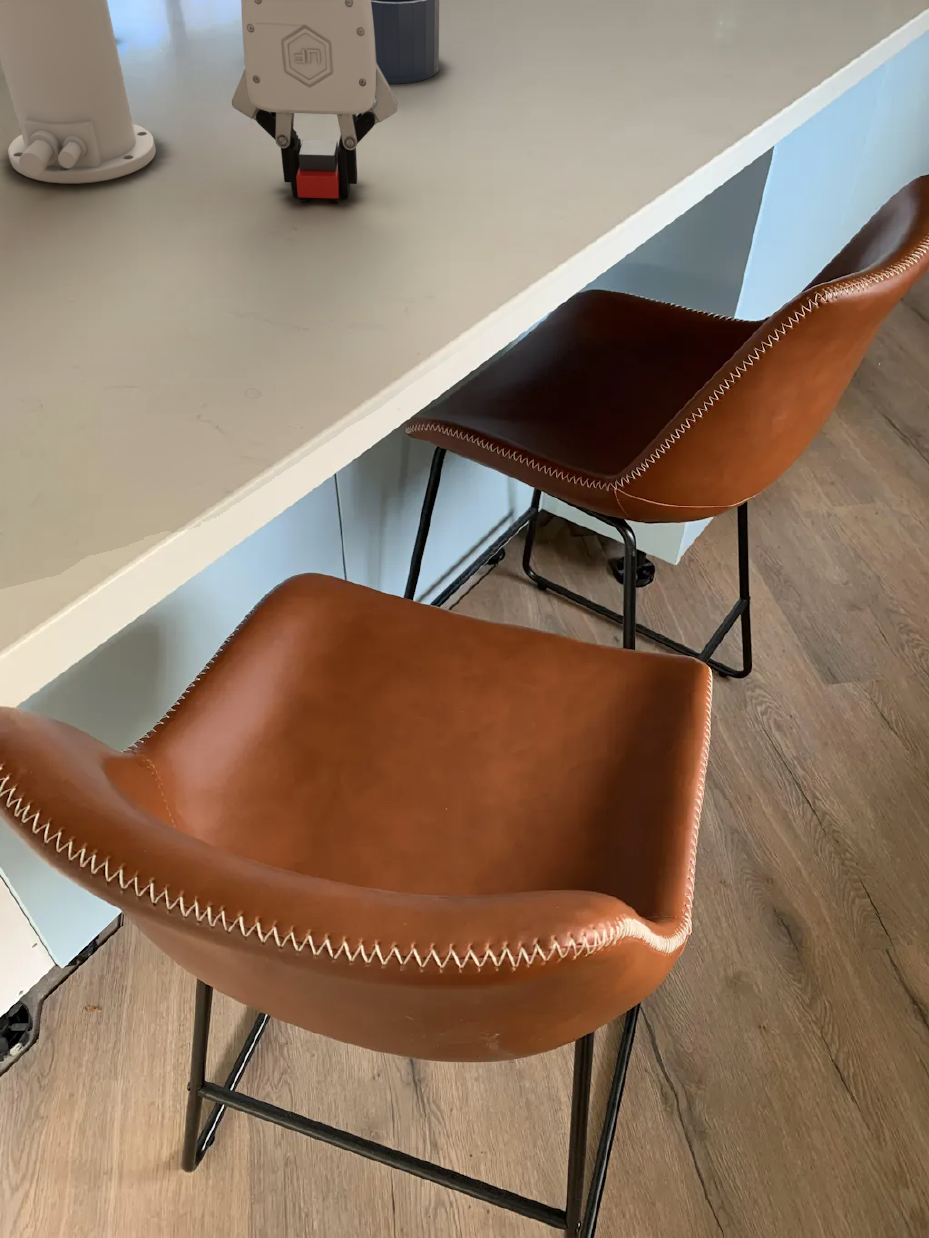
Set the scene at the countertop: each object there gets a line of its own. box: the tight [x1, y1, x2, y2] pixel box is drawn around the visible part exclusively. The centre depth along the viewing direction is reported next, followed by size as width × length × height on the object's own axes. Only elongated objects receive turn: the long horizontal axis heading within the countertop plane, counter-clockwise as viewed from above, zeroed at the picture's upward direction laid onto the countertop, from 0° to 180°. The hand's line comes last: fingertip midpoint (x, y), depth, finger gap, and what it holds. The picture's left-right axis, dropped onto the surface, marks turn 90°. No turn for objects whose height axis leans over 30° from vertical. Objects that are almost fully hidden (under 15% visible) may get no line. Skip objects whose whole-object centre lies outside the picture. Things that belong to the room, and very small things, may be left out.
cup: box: [371, 0, 440, 84], centre depth 103 cm, size 10×10×8 cm
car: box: [296, 139, 341, 203], centre depth 82 cm, size 6×3×4 cm, turn 1°
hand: (321, 188), depth 83 cm, fingers closed on car, 3 cm apart
